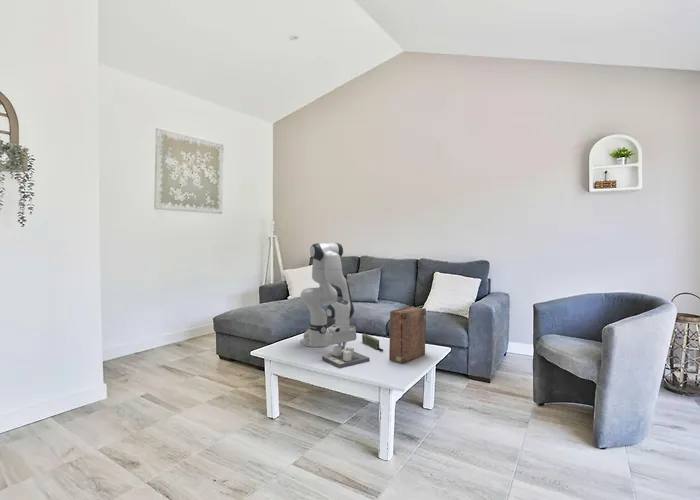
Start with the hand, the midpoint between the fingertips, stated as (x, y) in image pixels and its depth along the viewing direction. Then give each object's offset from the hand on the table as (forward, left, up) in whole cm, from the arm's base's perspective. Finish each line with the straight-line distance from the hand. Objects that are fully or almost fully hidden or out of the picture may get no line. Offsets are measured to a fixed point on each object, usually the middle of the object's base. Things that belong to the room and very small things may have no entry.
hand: (341, 349), depth 236 cm
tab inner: (0, -3, -3) cm, 4 cm away
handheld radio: (-7, +31, -6) cm, 32 cm away
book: (+23, +34, -5) cm, 41 cm away
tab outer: (+11, -4, -3) cm, 12 cm away
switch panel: (+6, -1, -5) cm, 8 cm away
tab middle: (+6, +2, -3) cm, 7 cm away
